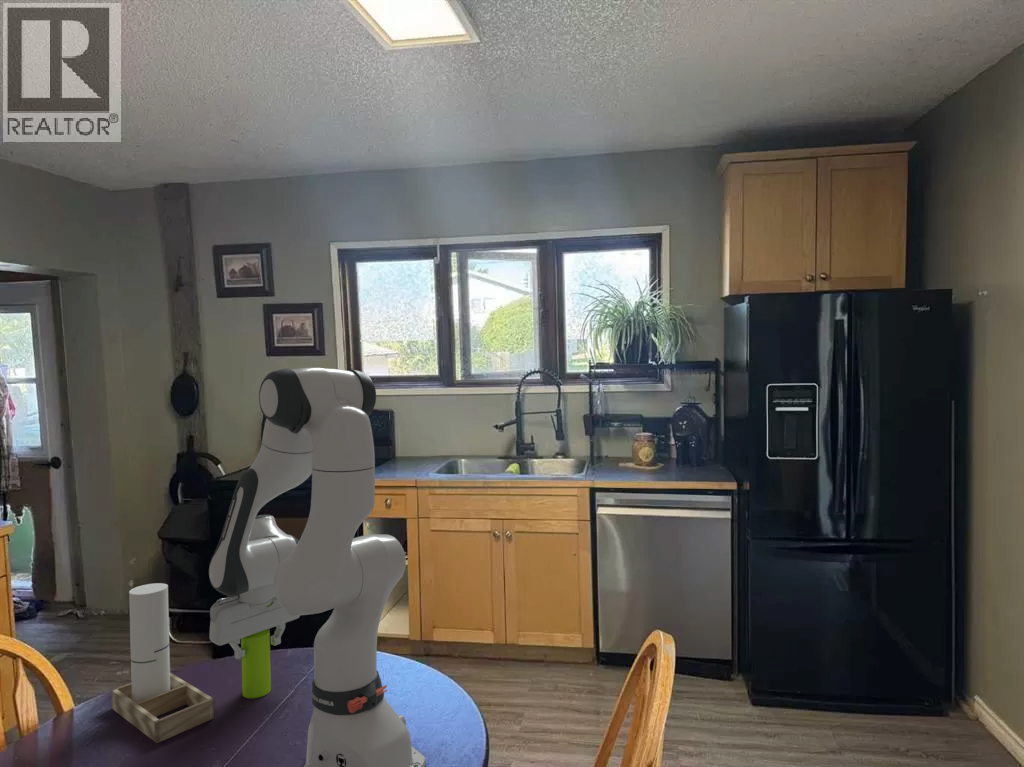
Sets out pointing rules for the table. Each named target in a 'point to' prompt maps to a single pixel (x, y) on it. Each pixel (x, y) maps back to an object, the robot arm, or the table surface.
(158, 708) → the frame
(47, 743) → the table surface
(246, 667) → the soap dispenser
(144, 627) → the cylindrical container
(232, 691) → the table surface
